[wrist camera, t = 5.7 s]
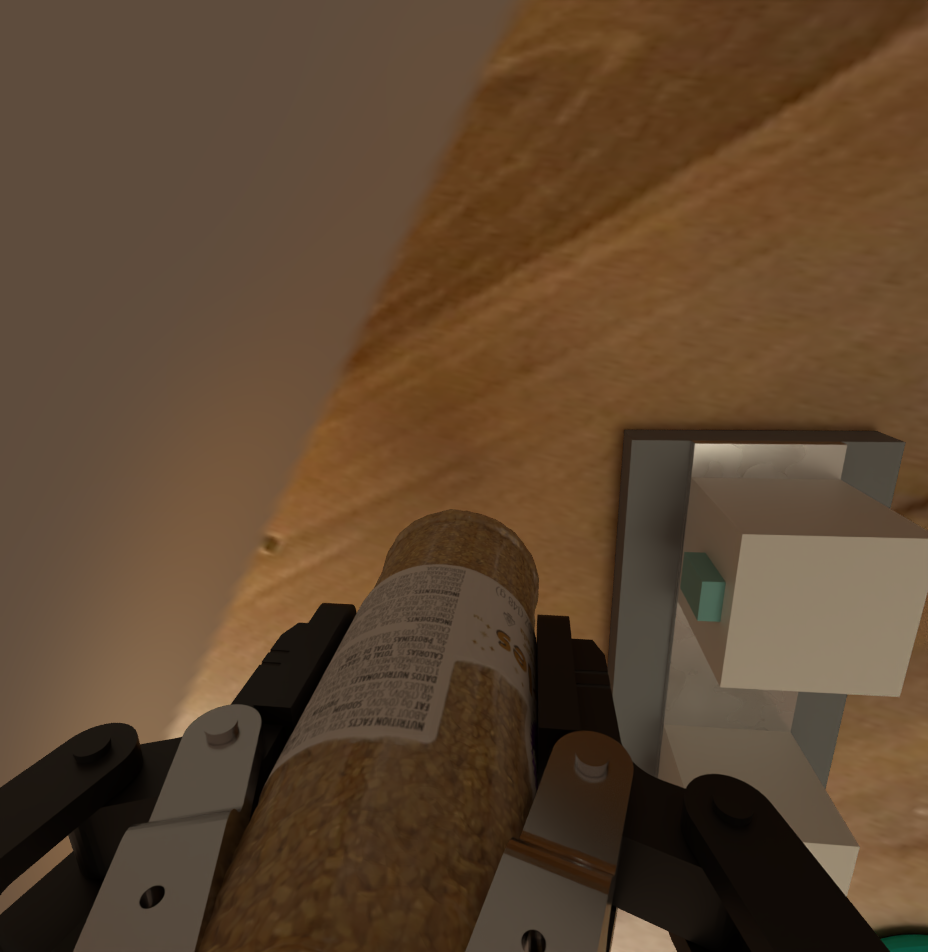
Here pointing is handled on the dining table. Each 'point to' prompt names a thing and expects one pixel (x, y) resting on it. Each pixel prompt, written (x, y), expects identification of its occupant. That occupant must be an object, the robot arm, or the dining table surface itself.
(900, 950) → the donuts
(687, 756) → the mounted modules
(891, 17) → the dining table surface
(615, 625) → the mounting board
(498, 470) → the dining table surface
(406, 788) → the sprinkles bottle
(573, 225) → the dining table surface
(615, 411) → the dining table surface
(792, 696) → the din rail
